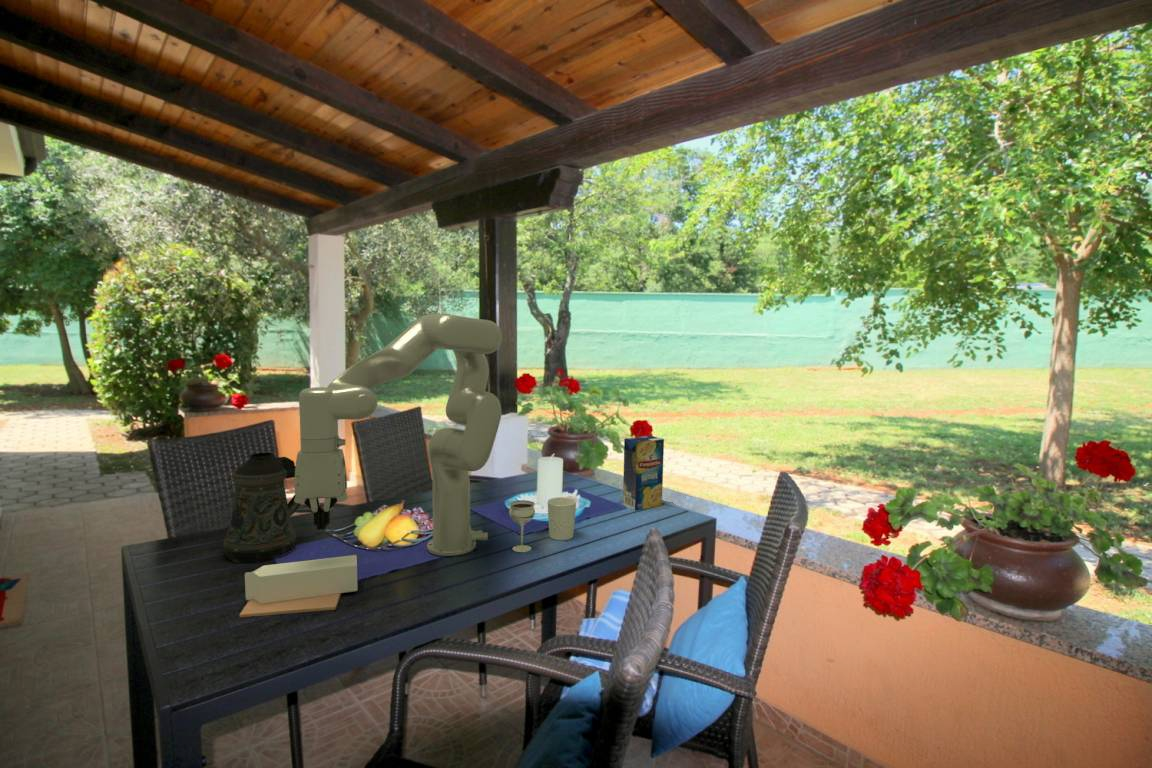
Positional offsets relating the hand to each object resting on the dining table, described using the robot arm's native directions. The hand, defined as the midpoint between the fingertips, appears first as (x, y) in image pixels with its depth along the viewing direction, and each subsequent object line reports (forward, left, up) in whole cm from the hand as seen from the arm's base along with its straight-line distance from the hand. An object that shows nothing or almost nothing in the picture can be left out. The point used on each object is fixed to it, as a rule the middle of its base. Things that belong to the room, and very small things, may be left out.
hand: (322, 527), depth 132 cm
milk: (-7, 0, -11) cm, 13 cm away
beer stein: (+19, -28, -14) cm, 37 cm away
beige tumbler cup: (-58, -23, -14) cm, 64 cm away
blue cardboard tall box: (-90, -46, -14) cm, 102 cm away
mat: (+5, 0, -14) cm, 15 cm away
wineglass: (-46, -16, -14) cm, 51 cm away
